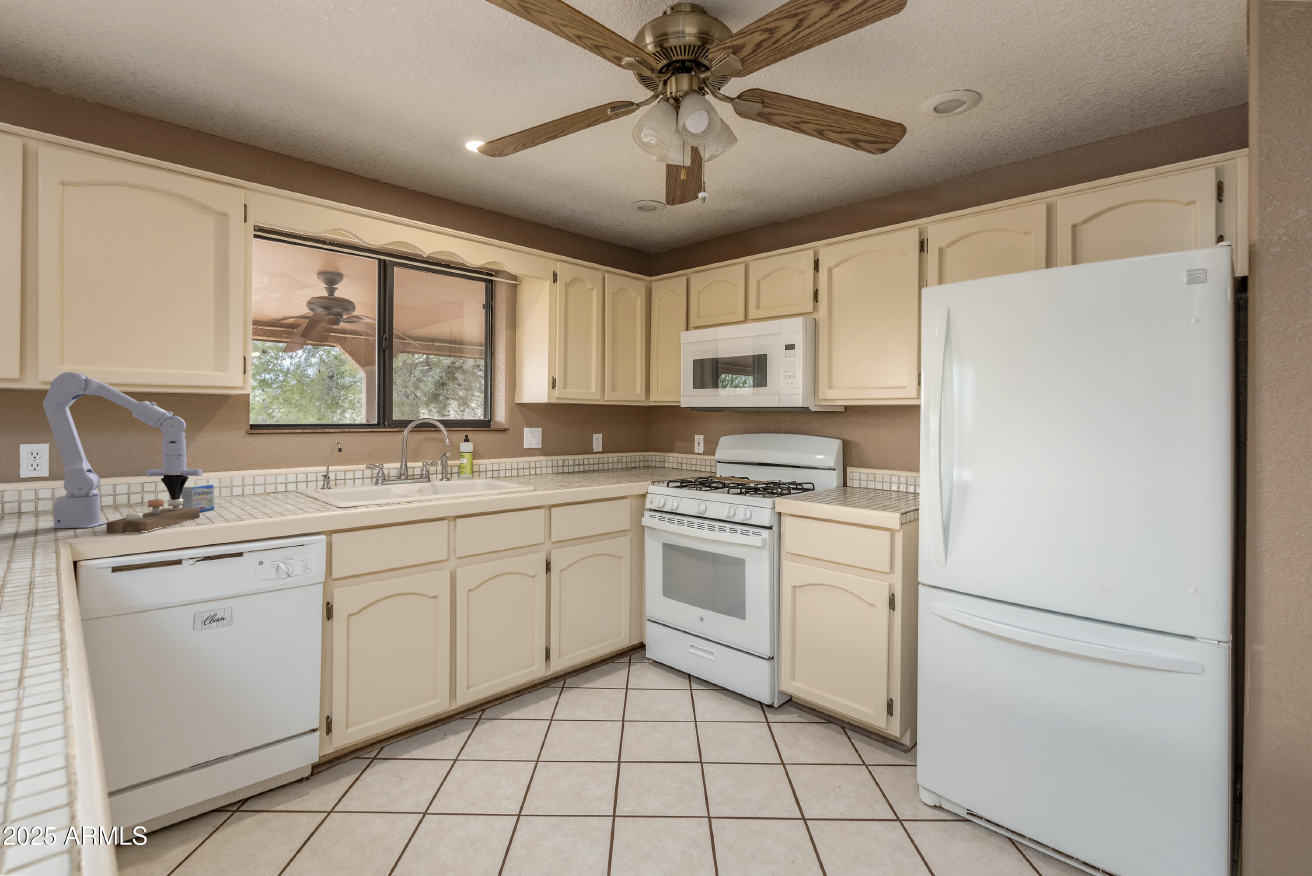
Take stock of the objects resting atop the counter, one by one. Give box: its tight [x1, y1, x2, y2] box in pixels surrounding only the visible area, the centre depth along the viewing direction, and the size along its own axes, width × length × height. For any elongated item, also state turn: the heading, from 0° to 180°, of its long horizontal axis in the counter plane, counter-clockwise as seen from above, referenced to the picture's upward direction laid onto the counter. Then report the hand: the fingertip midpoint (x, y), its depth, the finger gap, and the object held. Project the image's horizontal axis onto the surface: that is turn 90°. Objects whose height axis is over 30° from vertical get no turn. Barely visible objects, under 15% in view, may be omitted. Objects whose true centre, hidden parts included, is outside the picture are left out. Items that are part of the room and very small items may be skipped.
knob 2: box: [167, 498, 183, 510], centre depth 187 cm, size 4×4×4 cm
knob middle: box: [147, 498, 165, 515], centre depth 178 cm, size 4×4×4 cm
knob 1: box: [125, 512, 143, 521], centre depth 169 cm, size 4×4×4 cm
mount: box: [105, 507, 201, 534], centre depth 178 cm, size 10×24×3 cm, turn 8°
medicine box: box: [181, 483, 215, 513], centre depth 202 cm, size 8×4×9 cm, turn 168°
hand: (175, 499), depth 187 cm, fingers closed, pressing on knob 2
